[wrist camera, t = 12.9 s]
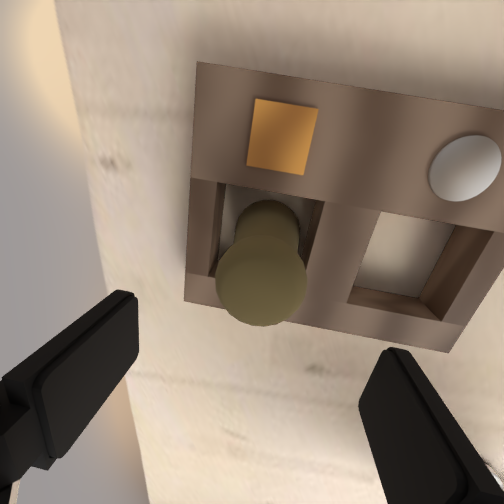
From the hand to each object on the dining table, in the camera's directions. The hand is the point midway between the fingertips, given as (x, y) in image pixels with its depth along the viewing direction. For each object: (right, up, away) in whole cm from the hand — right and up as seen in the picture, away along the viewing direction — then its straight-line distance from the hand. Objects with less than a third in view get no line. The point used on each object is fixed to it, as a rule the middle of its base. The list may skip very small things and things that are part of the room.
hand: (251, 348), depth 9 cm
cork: (+1, +6, +13) cm, 14 cm away
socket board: (+7, +7, +12) cm, 15 cm away
